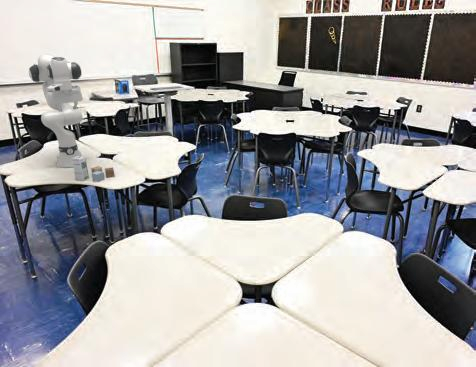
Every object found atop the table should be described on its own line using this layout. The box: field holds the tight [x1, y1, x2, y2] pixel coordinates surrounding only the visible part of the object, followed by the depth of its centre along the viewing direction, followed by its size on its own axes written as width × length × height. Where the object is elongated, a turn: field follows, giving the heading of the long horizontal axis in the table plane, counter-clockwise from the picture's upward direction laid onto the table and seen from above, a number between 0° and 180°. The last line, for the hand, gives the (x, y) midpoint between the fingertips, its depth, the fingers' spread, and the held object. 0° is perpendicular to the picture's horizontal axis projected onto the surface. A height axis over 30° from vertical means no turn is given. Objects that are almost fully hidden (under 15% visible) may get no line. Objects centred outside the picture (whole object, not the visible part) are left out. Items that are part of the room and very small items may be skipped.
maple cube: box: [90, 165, 104, 173], centre depth 229 cm, size 5×5×5 cm
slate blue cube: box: [91, 171, 105, 183], centre depth 220 cm, size 5×5×5 cm
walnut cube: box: [104, 167, 116, 179], centre depth 226 cm, size 5×5×5 cm
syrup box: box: [72, 155, 90, 182], centre depth 220 cm, size 6×6×14 cm
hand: (67, 110), depth 210 cm, fingers open, 8 cm apart
